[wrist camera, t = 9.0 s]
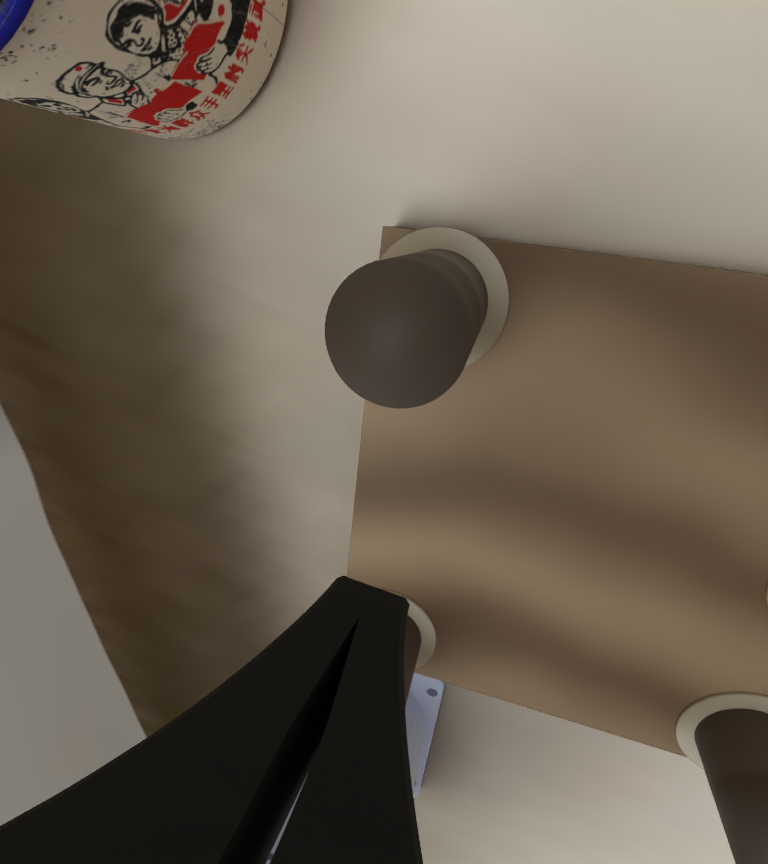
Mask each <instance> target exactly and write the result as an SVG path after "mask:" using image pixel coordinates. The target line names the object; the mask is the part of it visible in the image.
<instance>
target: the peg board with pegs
mask: <svg viewBox="0 0 768 864" xmlns="http://www.w3.org/2000/svg"><path fill="white" fill-rule="evenodd" d="M325 339H326V346H327V350H328V354H329V357H330V359H331V362H332V364H333V366H334V368H335V370H336V372H337V373H338V374H339V376H340V377H341V379H342V380H343V381H344V382H345V383H346V385H347V386H348V387H349V388H351V389H352V390H353V391H354V392H355V393H357V394H358V395H359V396H361V397H362V398H364V399H365V405H364V415H363V424H362V434H361V444H360V453H359V463H358V473H357V483H356V492H355V502H354V512H353V522H352V531H351V541H350V551H349V561H348V570H347V577H349V578H351V579H354V580H357V581H360V582H363V583H365V584H368V585H371V586H374V587H377V588H379V589H382V590H385V591H388V592H391V593H393V594H396V595H399V596H402V597H405V598H406V599H407V601H408V603H409V604H410V606H409V610H408V615H407V622H406V630H405V644H404V691H405V707H406V703H407V699H408V695H409V691H410V687H411V683H412V679H413V675H414V673H417V674H421V675H424V676H427V677H430V678H433V679H437V680H440V681H443V682H446V683H450V684H453V685H456V686H459V687H462V688H466V689H469V690H472V691H475V692H479V693H482V694H485V695H488V696H491V697H495V698H498V699H501V700H504V701H507V702H511V703H514V704H517V705H520V706H524V707H527V708H530V709H533V710H536V711H540V712H543V713H546V714H549V715H553V716H556V717H559V718H562V719H565V720H569V721H572V722H575V723H578V724H582V725H585V726H588V727H591V728H594V729H598V730H601V731H604V732H607V733H610V734H614V735H617V736H620V737H623V738H627V739H630V740H633V741H636V742H639V743H643V744H646V745H649V746H652V747H656V748H659V749H662V750H665V751H668V752H672V753H675V754H678V755H681V756H685V757H688V758H689V759H690V760H691V761H692V762H694V763H695V764H696V765H698V766H699V767H701V768H703V769H704V770H705V773H706V776H707V779H708V782H709V785H710V788H711V791H712V794H713V797H714V800H715V803H716V806H717V809H718V812H719V815H720V818H721V821H722V824H723V827H724V830H725V833H726V836H727V839H728V842H729V845H730V848H731V851H732V854H733V857H734V860H735V863H736V864H768V275H765V274H757V273H749V272H741V271H734V270H726V269H718V268H711V267H703V266H695V265H687V264H680V263H672V262H664V261H656V260H649V259H641V258H633V257H626V256H618V255H610V254H602V253H595V252H587V251H579V250H571V249H564V248H556V247H548V246H541V245H533V244H525V243H517V242H510V241H502V240H494V239H486V238H479V237H474V236H472V235H470V234H469V233H466V232H464V231H461V230H458V229H453V228H448V227H432V228H425V229H421V230H417V229H409V228H401V227H389V226H383V230H382V239H381V249H380V259H379V261H374V262H372V263H369V264H366V265H364V266H363V267H361V268H359V269H357V270H356V271H354V272H353V273H352V274H350V275H349V276H348V277H347V278H346V279H345V280H344V281H343V282H342V284H341V285H340V286H339V287H338V289H337V290H336V292H335V294H334V296H333V297H332V300H331V302H330V305H329V307H328V311H327V315H326V322H325Z"/></svg>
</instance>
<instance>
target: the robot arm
mask: <svg viewBox="0 0 768 864" xmlns="http://www.w3.org/2000/svg"><path fill="white" fill-rule="evenodd" d="M409 606H410V604H409V603H408V601H407V599H406V598H405V597H402V596H399V595H396V594H393V593H391V592H388V591H385V590H382V589H379V588H377V587H374V586H371V585H368V584H365V583H363V582H360V581H357V580H354V579H351V578H349V577H346V576H341V577H339V578H337V579H336V580H335V581H334V582H333V583H332V585H331V586H330V587H329V588H328V589H327V590H326V591H325V592H324V593H323V595H322V596H321V597H320V598H319V599H318V600H317V601H316V602H315V603H314V604H313V605H312V606H311V607H310V608H309V609H308V610H307V611H306V612H305V613H304V614H303V615H302V616H301V617H300V618H299V619H298V620H296V621H295V622H294V623H293V624H292V625H291V626H290V627H289V628H288V629H287V630H286V631H284V632H283V633H282V634H281V635H280V636H279V637H278V638H277V639H275V640H274V641H273V642H272V643H271V644H270V645H269V646H268V647H266V648H265V649H264V650H263V651H262V652H261V653H260V654H258V655H257V656H256V657H255V658H254V659H252V660H251V661H250V662H249V663H247V664H246V665H245V666H244V667H242V668H241V669H240V670H239V671H237V672H236V673H235V674H234V675H232V676H231V677H230V678H229V679H227V680H226V681H225V682H224V683H222V684H221V685H220V686H219V687H217V688H216V689H215V690H214V691H212V692H211V693H210V694H208V695H207V696H206V697H204V698H203V699H201V700H200V701H199V702H197V703H196V704H195V705H193V706H192V707H191V708H189V709H188V710H186V711H185V712H184V713H182V714H181V715H179V716H178V717H177V718H175V719H174V720H172V721H171V722H169V723H168V724H167V725H165V726H164V727H162V728H161V729H159V730H158V731H156V732H155V733H153V734H152V735H151V736H149V737H148V738H146V739H145V740H143V741H142V742H140V743H139V744H137V745H135V746H134V747H132V748H131V749H129V750H127V751H126V752H124V753H123V754H121V755H120V756H118V757H117V758H115V759H113V760H112V761H110V762H109V763H107V764H106V765H104V766H102V767H101V768H99V769H98V770H96V771H95V772H93V773H91V774H90V775H88V776H86V777H85V778H83V779H81V780H80V781H78V782H77V783H75V784H73V785H72V786H70V787H69V788H67V789H65V790H63V791H62V792H60V793H58V794H56V795H55V796H53V797H51V798H50V799H48V800H46V801H44V802H42V803H41V804H39V805H37V806H35V807H33V808H32V809H30V810H28V811H26V812H24V813H23V814H21V815H19V816H17V817H16V818H14V819H12V820H10V821H8V822H7V823H5V824H3V825H1V826H0V864H423V860H422V854H421V847H420V841H419V834H418V828H417V821H416V814H415V806H414V799H413V798H416V797H418V795H419V791H420V787H421V783H422V778H423V774H424V770H425V766H426V762H427V757H428V753H429V749H430V745H431V741H432V736H433V732H434V728H435V724H436V720H437V715H438V711H439V707H440V703H441V699H442V694H443V690H444V685H445V682H443V681H440V680H437V679H433V678H430V677H427V676H424V675H421V674H417V673H414V675H413V679H412V683H411V687H410V691H409V695H408V699H407V703H406V707H405V691H404V644H405V630H406V622H407V615H408V610H409ZM431 688H432V689H431Z"/></svg>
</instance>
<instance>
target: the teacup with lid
mask: <svg viewBox="0 0 768 864" xmlns="http://www.w3.org/2000/svg"><path fill="white" fill-rule="evenodd" d="M287 4H288V0H0V98H1V99H5V100H9V101H13V102H17V103H21V104H25V105H29V106H33V107H37V108H41V109H45V110H50V111H54V112H58V113H62V114H66V115H70V116H74V117H78V118H82V119H86V120H90V121H94V122H98V123H102V124H106V125H110V126H114V127H118V128H122V129H126V130H130V131H134V132H138V133H142V134H146V135H150V136H154V137H158V138H163V139H173V140H177V139H191V138H197V137H200V136H203V135H207V134H209V133H211V132H213V131H216V130H218V129H219V128H221V127H223V126H224V125H226V124H228V123H229V122H230V121H231V120H233V119H234V118H235V117H236V116H238V115H239V114H240V113H241V112H242V111H243V110H244V109H245V108H246V107H247V106H248V104H249V103H250V102H251V101H252V99H253V98H254V97H255V96H256V94H257V93H258V91H259V89H260V88H261V86H262V85H263V83H264V81H265V79H266V77H267V75H268V74H269V72H270V69H271V67H272V64H273V62H274V60H275V57H276V54H277V51H278V48H279V45H280V42H281V38H282V33H283V29H284V24H285V18H286V12H287Z"/></svg>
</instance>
